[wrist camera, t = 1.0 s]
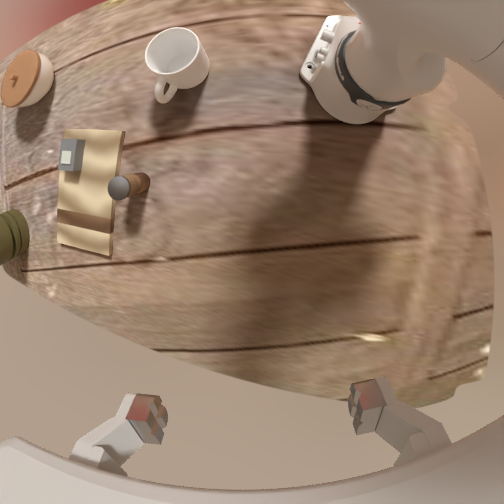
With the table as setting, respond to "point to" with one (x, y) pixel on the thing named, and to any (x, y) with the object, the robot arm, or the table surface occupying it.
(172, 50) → the mug
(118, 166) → the plank
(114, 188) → the peg
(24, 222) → the piston
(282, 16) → the table surface
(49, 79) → the lidded bowl
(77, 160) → the block
